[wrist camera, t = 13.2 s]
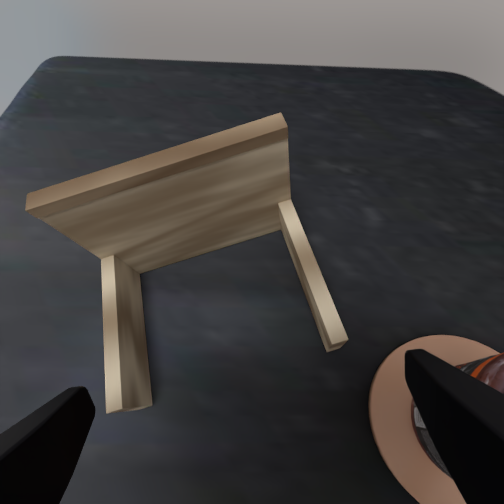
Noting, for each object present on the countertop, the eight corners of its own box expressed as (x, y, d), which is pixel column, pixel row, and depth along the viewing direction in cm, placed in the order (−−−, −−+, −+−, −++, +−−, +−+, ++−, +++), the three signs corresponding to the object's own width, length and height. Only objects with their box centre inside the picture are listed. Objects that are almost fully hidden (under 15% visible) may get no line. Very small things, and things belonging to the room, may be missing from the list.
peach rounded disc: (545, 572, 15) (560, 584, 14) (348, 465, 18) (350, 469, 17) (558, 377, 18) (571, 376, 17) (390, 314, 21) (394, 311, 20)
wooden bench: (340, 348, 21) (375, 311, 11) (139, 409, 21) (1, 426, 11) (288, 215, 26) (280, 112, 16) (127, 266, 26) (27, 193, 16)
